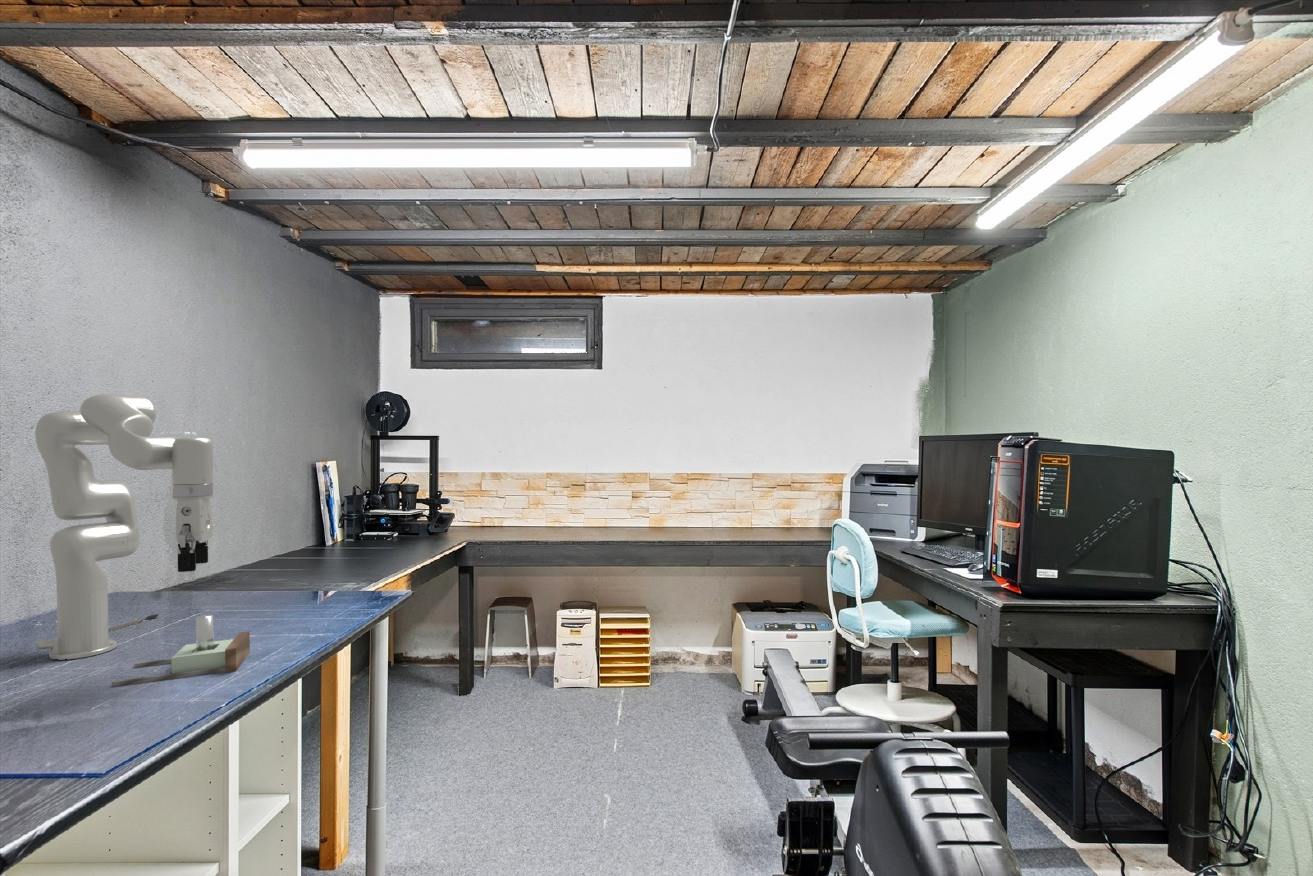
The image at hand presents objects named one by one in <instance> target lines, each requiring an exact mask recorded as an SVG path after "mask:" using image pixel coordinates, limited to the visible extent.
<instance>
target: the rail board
mask: <svg viewBox="0 0 1313 876" xmlns="http://www.w3.org/2000/svg"><path fill="white" fill-rule="evenodd" d="M233 639H234V640H233V641H232V642H231V643H230V644H229V646H228V647H227V648H226V649H225V667H218V668H210V669H203V670H195V671H187V672H179V673H172V672H171V673H166V674H164V673H163V674H158V675H150V676H143V677H142V676H141V677H135V678H127V679H119V680H112V681H111V688H113V687H121V686H129V685H136V684H143V683H144V684H145V683H152V682H161V681H169V680H175V679H181V678H182V679H183V678H190V677H197V676H205V675H212V674H219V673H221V674H222V673H233V672H237V671H238V670H239V668H240V667H241V665H242V664H243V663H244V661H245V660H246V659H247V657H248V656H249V655H250V653H251V642H250V631H241V632H239V633H238V634H237V635H236V636H235V638H233ZM171 658H172V657H171ZM171 658H164V659H163V658H162V659H154V660H148V661H138V662H134V667H133V668H134V669H137V668H144V667H146V668H147V667H152V666H153V667H154V666H162V665H169V664H171V665H172V659H171Z"/></svg>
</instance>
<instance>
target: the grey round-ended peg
mask: <svg viewBox="0 0 1313 876" xmlns="http://www.w3.org/2000/svg"><path fill="white" fill-rule="evenodd" d="M214 634H215V633H214V615H213V614H204V615H198V616H196V617H195V639H196V640H195V644H196V650H197V651H205V650H213V649H214V639H215V638H214Z"/></svg>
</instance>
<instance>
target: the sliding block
mask: <svg viewBox="0 0 1313 876" xmlns="http://www.w3.org/2000/svg"><path fill="white" fill-rule="evenodd" d="M234 639H235V638H233V639H232V638H231V639H225V640H224V639H223V640H215V641H214V649H213V650H205V651H197V650H196V643H190V644H189V643H188V644H185V645H183V646H182V647H181V649H179V650H178V651H177V652H176V653H175V654H174V655H173V656H172V657H171V659H172V663H171V674H172V673H179V672H187V671H195V670H203V669H210V668H218V667H225V649H226V648H227V647H228V646H229V644H230V643H231V642H232V641H233V640H234Z"/></svg>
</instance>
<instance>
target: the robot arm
mask: <svg viewBox="0 0 1313 876" xmlns="http://www.w3.org/2000/svg"><path fill="white" fill-rule="evenodd" d="M156 418H157V409H156V407H155V405H154V404H153V402H152V401H151V400H149V399H148V398H146V397H144V396H140V395H129V394H128V395H126V394H109V393H107V394H106V393H103V394H96V395H92V396H90V397H87V398H86V399H85V400H84V401H83V402H82V404H81V405H80V410H63V411H53V412H49V413H47V414H44V415H43V416H41V417H40V418H39V420H38V421H37V423H36V426H35V431H34V435H35V436H34V437H35V444H36V447H37V450H38V452H39V453H40V456H41V457H42V460H43V462H44V463H45V467H46V471H47V478H48V484H49V491H50V498H51V503H52V504H51V505H52V508H53V512H54V515H55V516H56V517H57V518H58V519H60V520H64V521H80V520H93V519H101V518H104V519H105V520H106V522H100V523H99V522H95V523H86V524H78V525H77V524H76V525H71V526H68V527H64V528H61V529H59V530H57V531H56V532H55V533H54V534H53V535H52V536H51V538H50V542H49V550H50V553H51V557H52V560H53V561H52V562H53V565H54V572H55V584H56V585H55V588H56V617H57V619H56V620H57V621H56V623H57V626H56V627H57V629H56V630H57V636H56V637H53V638H51V639H49V638H48V639H40V640H37V643H36V648H37V649H38V650H46V649H51V650H52V651H50V652H49V653H48V657H49V659H50V660H54V659H58V660H57V661H62V660H63V661H65V659H67V660H75V659H76V660H77V659H81V658H87V657H91V656H97V655H101V654H104V653H106V652H110V651H112V650H114V649H115V648H116V647H117V646H118V644H117V641H116V640H114V639H110V638H109V637H110V636H109V632H108V629H109V600H108V599H109V598H108V597H109V596H108V594H109V593H108V591H109V590H108V587H109V586H108V577H107V575H106V574H105V572H104V571H103V570H102V569H101V568H100V567H99V566H98V565H97V562H100V561H106V560H107V561H108V560H113V559H119V558H123V557H124V558H125V557H128V556H131V555H133V554H134V553H135V552H136V551H137V550H138V548H139V545H140V541H141V540H140V539H141V538H140V529H139V522H138V516H137V510H136V502H135V497H134V494H133V492H132V490H131V488H130V486H128V484H126V483H125V482H123V481H120V480H111V479H110V480H96V478H95V477H96V476H95V475H94V466H93V464H92V461H91V460H90V459H89V458H88V456H87V455H86V454H85V453H83V451H82V450H80V449H79V448H77V447H76V446H84V445H85V446H103V445H105V446H107V445H108V448H109V449H108V450H109V452H110V454H111V456H112V457H113V459H115V460H117V461H118V462H120V463H121V464H123V465H124V466H127V467H128V468H130V469H134V470H137V471H151V470H153V471H154V470H172V475H171V476H172V484H171V485H172V486H171V488H172V500H176V515H175V539H176V542H177V543H178V544H177V547H178V548H177V572H179V573H183V572H185V573H187V572H196V570H197V564H198V565H199V564H200V565H201V564H207V563H208V562H209V541H208V540H209V539H211V538H212V537H213V535H214V534H213V533H214V532H213V513H212V502H211V498H214V444H213V440H211V439H210V438H208V437H201V436H200V437H194V436H193V437H192V436H191V437H189V436H155V435H154V436H151V435H152V432H153V430H154V423H155V422H156Z"/></svg>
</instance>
